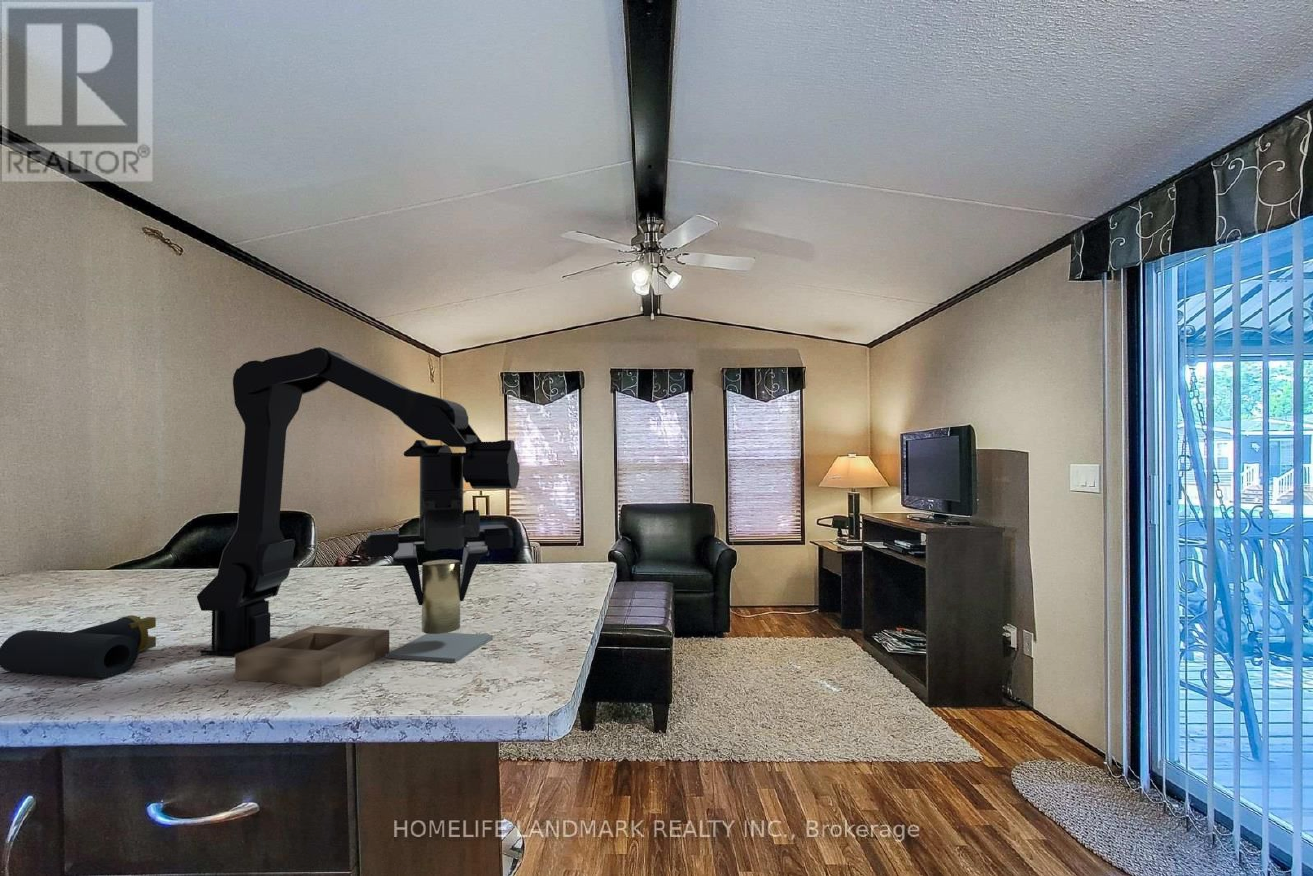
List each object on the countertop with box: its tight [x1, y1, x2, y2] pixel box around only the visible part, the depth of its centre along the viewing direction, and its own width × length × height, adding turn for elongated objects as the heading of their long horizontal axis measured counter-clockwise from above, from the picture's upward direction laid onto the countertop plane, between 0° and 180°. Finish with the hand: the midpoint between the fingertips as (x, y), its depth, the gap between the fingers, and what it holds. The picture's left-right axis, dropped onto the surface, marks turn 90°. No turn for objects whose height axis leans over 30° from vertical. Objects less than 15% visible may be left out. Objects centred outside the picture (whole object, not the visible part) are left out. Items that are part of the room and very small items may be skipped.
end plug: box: [421, 559, 462, 634], centre depth 81 cm, size 5×5×9 cm
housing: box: [234, 625, 390, 687], centre depth 75 cm, size 12×12×3 cm
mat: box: [385, 632, 494, 663], centre depth 81 cm, size 10×10×1 cm
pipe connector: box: [0, 614, 157, 680], centre depth 77 cm, size 12×5×15 cm
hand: (441, 602), depth 81 cm, fingers closed on end plug, 5 cm apart
